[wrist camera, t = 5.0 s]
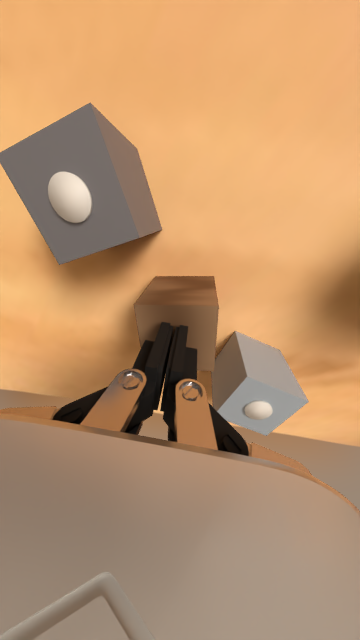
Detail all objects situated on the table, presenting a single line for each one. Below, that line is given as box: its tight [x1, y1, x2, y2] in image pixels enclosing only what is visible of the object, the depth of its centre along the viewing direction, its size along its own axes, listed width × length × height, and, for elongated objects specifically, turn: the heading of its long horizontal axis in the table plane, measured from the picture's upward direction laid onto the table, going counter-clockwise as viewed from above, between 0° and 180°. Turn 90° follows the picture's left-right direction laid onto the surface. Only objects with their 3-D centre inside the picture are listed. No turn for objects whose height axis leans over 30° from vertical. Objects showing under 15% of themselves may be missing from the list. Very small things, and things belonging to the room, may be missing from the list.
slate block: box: [211, 331, 309, 436], centre depth 17 cm, size 5×5×6 cm
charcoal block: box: [0, 103, 162, 265], centre depth 12 cm, size 5×5×6 cm
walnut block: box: [134, 276, 219, 371], centre depth 15 cm, size 5×5×6 cm
